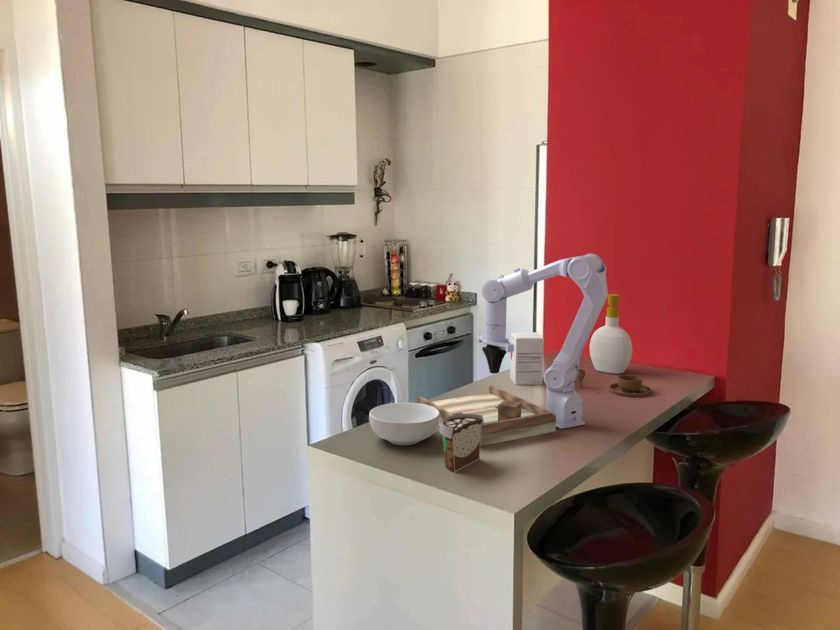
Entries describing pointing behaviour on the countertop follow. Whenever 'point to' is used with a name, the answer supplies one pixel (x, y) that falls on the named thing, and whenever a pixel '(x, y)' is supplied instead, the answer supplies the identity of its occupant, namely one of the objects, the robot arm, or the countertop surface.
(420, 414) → the cereal bowl
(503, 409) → the walnut block
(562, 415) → the robot arm
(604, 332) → the soap bottle
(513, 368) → the supplement box
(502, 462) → the countertop surface
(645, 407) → the countertop surface
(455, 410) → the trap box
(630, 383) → the place setting
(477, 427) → the food container
